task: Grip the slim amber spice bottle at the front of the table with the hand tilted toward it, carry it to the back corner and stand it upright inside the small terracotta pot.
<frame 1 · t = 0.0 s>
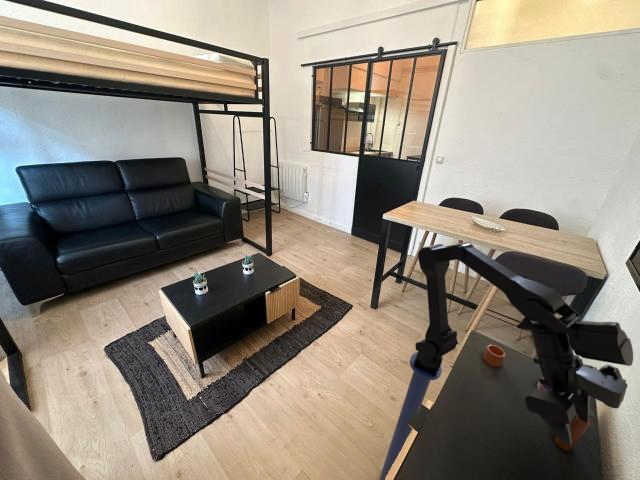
hand: (576, 432, 49), 16 cm above the table, tool tilted 35°, fingers open, 9 cm apart
pot: (491, 360, 84), on the table
spice bottle: (562, 444, 62), on the table
pill bottle: (548, 392, 75), on the table
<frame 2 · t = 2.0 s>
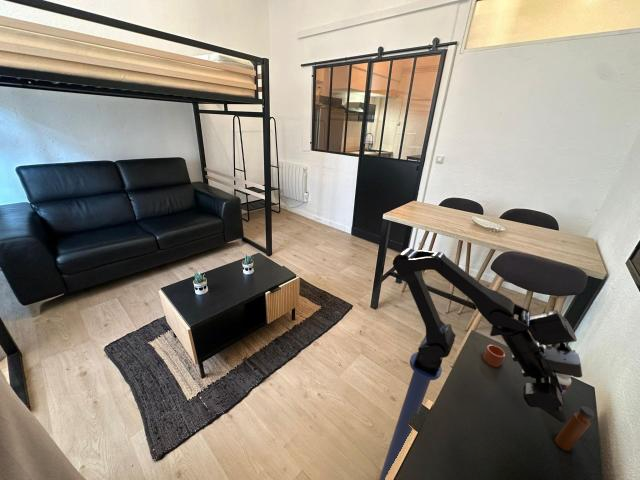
hand: (561, 405, 60), 11 cm above the table, tool tilted 45°, fingers open, 9 cm apart
nothing on the table moved.
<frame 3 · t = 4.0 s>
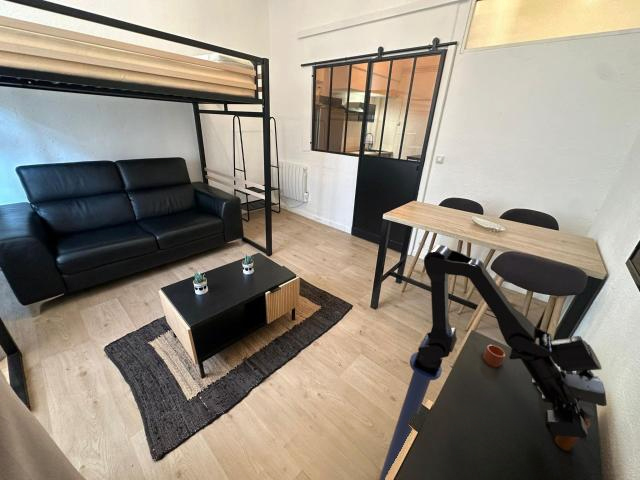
hand: (583, 432, 58), 7 cm above the table, tool tilted 45°, fingers closed on spice bottle, 3 cm apart
spice bottle: (562, 444, 62), on the table, touching gripper
everything else where it was.
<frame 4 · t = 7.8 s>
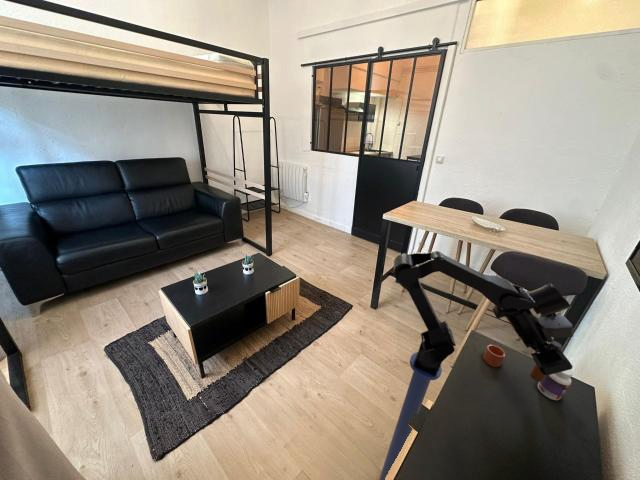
hand: (551, 362, 68), 13 cm above the table, tool tilted 45°, fingers closed on spice bottle, 3 cm apart
spice bottle: (535, 377, 71), point 6 cm above the table, touching gripper
everything else where it was.
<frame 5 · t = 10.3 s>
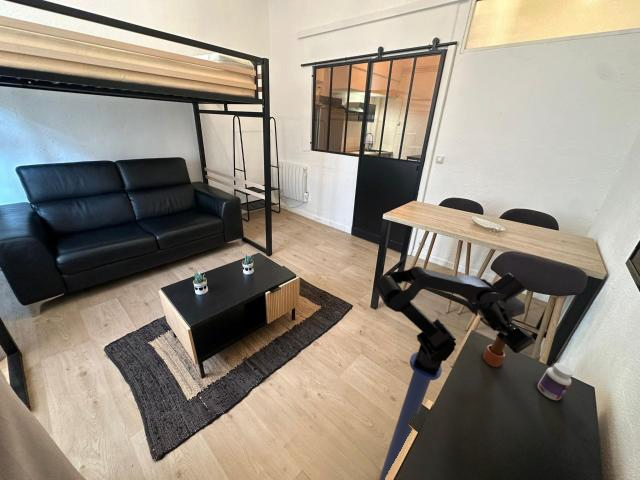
hand: (507, 335, 80), 11 cm above the table, tool tilted 45°, fingers closed on spice bottle, 3 cm apart
spice bottle: (495, 351, 82), point 4 cm above the table, touching gripper
everything else where it was.
when the fingers open (7 cm above the table, at t = 11.6 s): spice bottle stays where it is, resting on pot.
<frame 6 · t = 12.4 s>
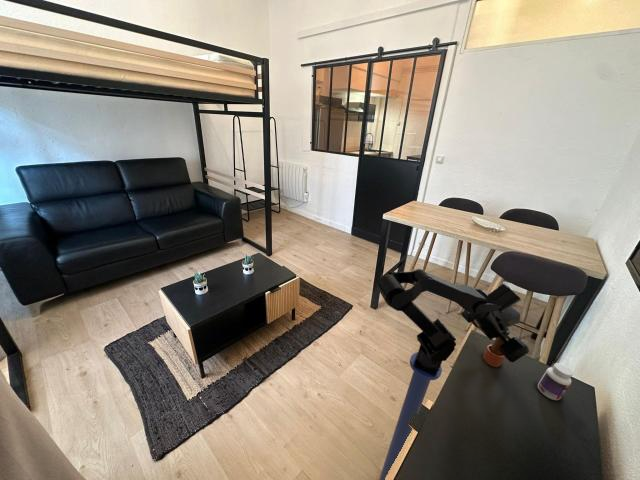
hand: (503, 343, 81), 7 cm above the table, tool tilted 45°, fingers open, 9 cm apart
spice bottle: (491, 359, 84), resting on pot
everything else where it was.
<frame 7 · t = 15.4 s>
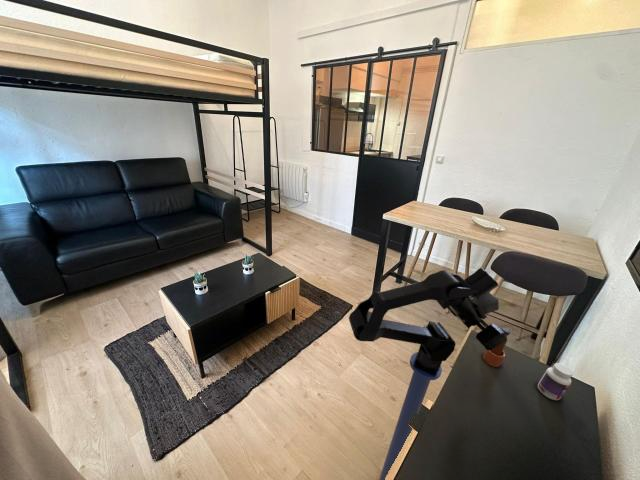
hand: (483, 333, 77), 13 cm above the table, tool tilted 45°, fingers open, 9 cm apart
nothing on the table moved.
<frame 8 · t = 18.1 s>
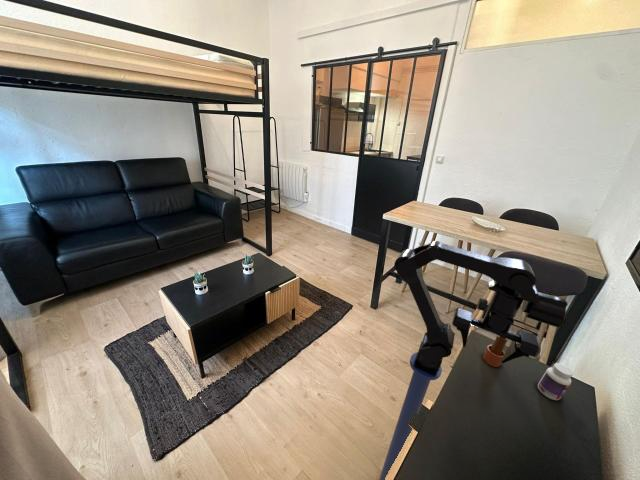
hand: (482, 353, 69), 13 cm above the table, tool pointing down, fingers open, 9 cm apart
nothing on the table moved.
at the end: spice bottle 0.0 cm off-centre in the pot, point 0.5 cm above the pot's base; spice bottle tilted 0°; the gripper is holding nothing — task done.
